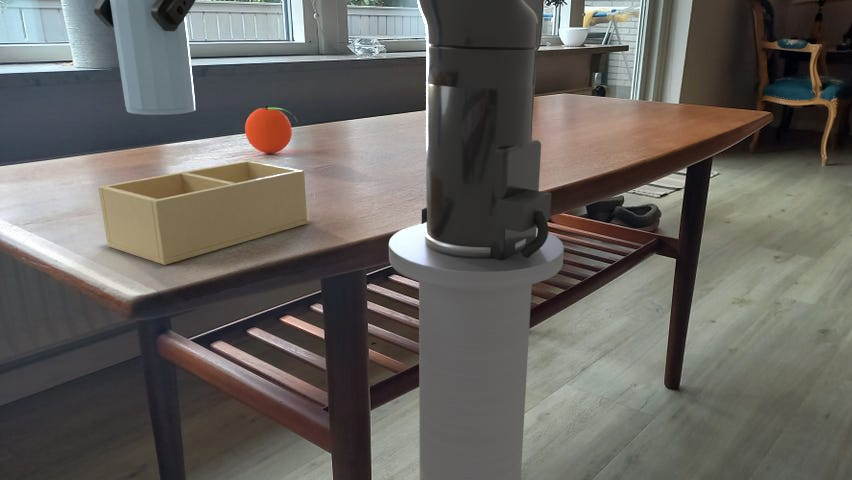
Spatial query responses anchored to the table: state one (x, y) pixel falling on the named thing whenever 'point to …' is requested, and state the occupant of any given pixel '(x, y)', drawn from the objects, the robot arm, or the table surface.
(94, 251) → the table surface
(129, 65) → the bottle
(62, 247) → the table surface
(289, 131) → the clementine
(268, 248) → the table surface
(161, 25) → the robot arm
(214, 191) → the holder
